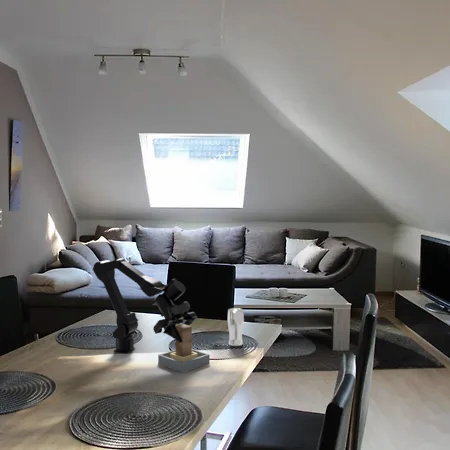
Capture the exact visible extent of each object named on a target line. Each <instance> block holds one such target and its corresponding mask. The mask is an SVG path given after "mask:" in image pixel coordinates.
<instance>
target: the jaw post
mask: <svg viewBox="0 0 450 450" xmlns="http://www.w3.org/2000/svg"><path fill="white" fill-rule="evenodd" d="M192 329H193V328H192V325H190V326H189V325H186V324H182V325H180V324H178V325H176V330H177V331H178V333H179V335H180V337H181V339H182V342H181V343H180V342H178V341H177V340H175V350H176V355H179V356H182V357H185V356H188V355H191V354H192V349H193V346H192V345H193V343H192V342H193V337H192V335H193V330H192Z"/></svg>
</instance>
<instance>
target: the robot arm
mask: <svg viewBox="0 0 450 450" xmlns="http://www.w3.org/2000/svg"><path fill="white" fill-rule="evenodd" d="M116 270H118V271H119V272H120V273H123V275H125V276H126V277H128V278H129V279H130V280H132V281H133V282H134V283H136V284H137V286H139V288H140V290H141V292H143V294H144V295H145V296H147V297H149V298H151V297H152V301H151V306H157V307H158V309H159V311H160V312H161V314H160V317H161V318H163V319H158V320H157V322H156V323H155V324H154V325H153V332H154V334H156V335H157V334H161V333H163V334H164V335H165V334H166V335H168V336H169V337H170V338H173V339H174V340H175V341H176V340H177V341H178V342H180V343H181V342H182V339H181V337H180V335H179V333H178V331H177V330H176V326H177V325H182V324H186V325H189V326H191V325H192V324H193V323H194V322H195V321H196V319H197V318H198V315H197V313H196V312H195V311H191V312H189V310H190V309H191V305H190V303H189V301H183V302H181V304H178V305H177V304H174V303H173V301H176V300H177V299H179V298H180V297H181V296H182V295H183V294H184V293H185V292H186V290H187V289H186V286H185V285H184V283H183V282H181V281H178V279H176V278H173V279H171V280H170V282H168V283H167V284H165V283H163V282H162V281H160V280H159V279H157V278H155V277H151V276H148V275H146V274H145V273H143V272H142V271H140V270H139V268H136V267H135V266H133V265H132V264H131V263H129V262H128V261H127V260H126V259H125V258H124V257H120V258H119V257H118V258H116V259H114V260H109V259H104V260H100V261H97V262H95V263H94V264H93V267H92V271H93V273H94V274H95V277H96V278H97V279H98V280H99V281H100V282H101V283H102V284H103V285H104V288H105V290H106V291H105V292H106V293H107V294H108V297H109V300H110V302H111V304H112V308H113V309H114V312H115V314H116V320H115V321H116V327H117V328H116V329H114V331H113V332H112V336H113V338H114V339H115V349H113V352H115V353H116V352H117V353H122V354H123V353H124V354H128V353H130V352H132V351H134V350H135V349H136V347H135V345H134V344H135V343H134V339H133V335H134V334H135V332H136V330H137V329H138V326H139V319H138V318H137V316H136V313H135V311H133V312H131V311H130V310H128V307H127V304H126V302H125V300H124V298H123V296H122V293H121V290H120V289H119V286H118V283H117V281H116V279H115V278H116ZM185 313H186V314H185ZM184 314H185V315H184ZM163 330H164V331H163Z"/></svg>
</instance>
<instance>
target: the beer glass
mask: <svg viewBox="0 0 450 450" xmlns="http://www.w3.org/2000/svg"><path fill="white" fill-rule="evenodd" d="M244 317H245V315H244V309H243V308H241V307H240V308H239V307H232V308H228V309H227V326H228V328H227V329H228V333H229V337H228V345H229V346H232V347H240V346H242V345H243V344H244V343H243V331H244V325H245V324H244V322H245V318H244Z"/></svg>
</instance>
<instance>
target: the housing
mask: <svg viewBox="0 0 450 450" xmlns="http://www.w3.org/2000/svg"><path fill="white" fill-rule="evenodd" d="M157 359H158V363H157V364H159V365H160V366H164V367H165V368H169V369H171V370H173V371H177V372H180V373H181V374H182V373H186V372H188V371H191V370H194V369H197V368H200V367H203V366H206V365H208V364H210V362H211V361H210V360H211V359H210V354H209V353H207V352H204V351H201V350H196V349H194V348H192V354H191V355H188V356H185V357H182V356H179V355H176V349H173V350H170V351H167V352H162V353H160V354H158V358H157Z"/></svg>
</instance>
